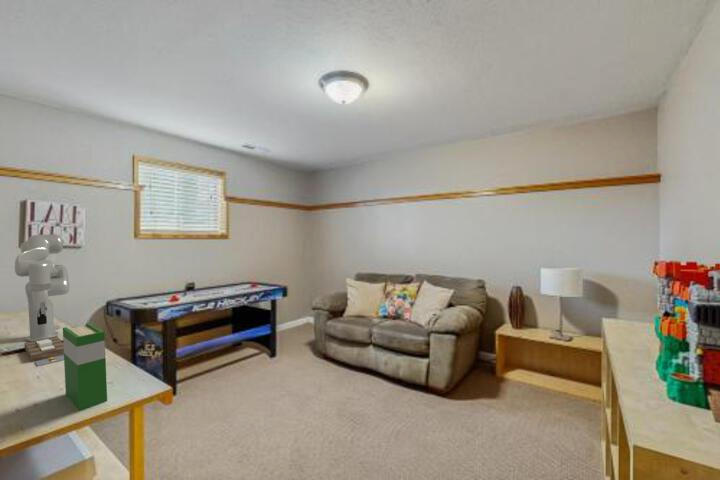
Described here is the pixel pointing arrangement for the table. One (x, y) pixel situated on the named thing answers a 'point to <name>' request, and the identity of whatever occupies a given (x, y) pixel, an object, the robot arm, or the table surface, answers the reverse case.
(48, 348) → the button
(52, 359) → the card
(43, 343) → the button middle
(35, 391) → the table surface
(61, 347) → the button board
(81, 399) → the hardback book
